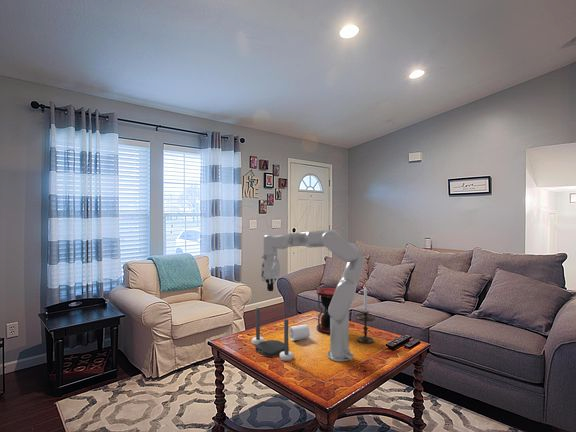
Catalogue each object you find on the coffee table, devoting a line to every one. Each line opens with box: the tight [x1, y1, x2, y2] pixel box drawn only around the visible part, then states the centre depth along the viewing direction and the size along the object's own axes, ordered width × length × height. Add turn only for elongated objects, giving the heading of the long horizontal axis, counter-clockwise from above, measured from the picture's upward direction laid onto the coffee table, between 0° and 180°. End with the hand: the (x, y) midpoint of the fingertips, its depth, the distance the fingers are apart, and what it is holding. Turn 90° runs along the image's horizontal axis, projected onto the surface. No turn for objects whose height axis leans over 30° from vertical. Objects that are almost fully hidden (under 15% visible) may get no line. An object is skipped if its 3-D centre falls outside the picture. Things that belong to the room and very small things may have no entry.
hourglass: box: [316, 287, 336, 335], centre depth 216 cm, size 16×16×25 cm
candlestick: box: [355, 281, 376, 345], centre depth 198 cm, size 11×11×35 cm
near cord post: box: [279, 318, 294, 362], centre depth 177 cm, size 7×7×20 cm
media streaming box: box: [255, 339, 284, 358], centre depth 187 cm, size 15×15×3 cm
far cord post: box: [251, 307, 265, 346], centre depth 197 cm, size 7×7×20 cm
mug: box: [288, 323, 311, 342], centre depth 203 cm, size 12×10×8 cm
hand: (270, 290), depth 186 cm, fingers closed
